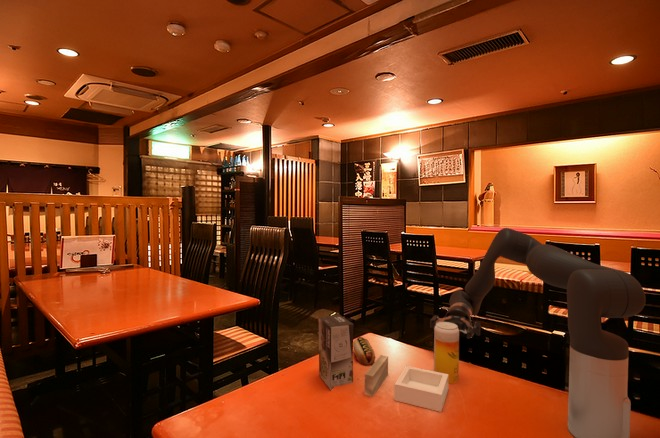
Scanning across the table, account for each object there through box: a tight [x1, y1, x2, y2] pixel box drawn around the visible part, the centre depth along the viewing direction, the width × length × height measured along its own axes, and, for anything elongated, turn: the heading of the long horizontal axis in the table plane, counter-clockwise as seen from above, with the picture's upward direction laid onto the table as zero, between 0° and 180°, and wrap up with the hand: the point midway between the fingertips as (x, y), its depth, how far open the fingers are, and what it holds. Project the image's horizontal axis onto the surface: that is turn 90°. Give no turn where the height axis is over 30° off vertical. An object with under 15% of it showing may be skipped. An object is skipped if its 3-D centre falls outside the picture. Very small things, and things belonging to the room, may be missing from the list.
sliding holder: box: [393, 365, 449, 413], centre depth 84 cm, size 10×10×4 cm
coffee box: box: [318, 314, 354, 391], centre depth 93 cm, size 9×6×16 cm
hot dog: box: [353, 336, 376, 366], centre depth 106 cm, size 5×13×5 cm, turn 6°
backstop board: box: [364, 355, 389, 398], centre depth 85 cm, size 20×12×6 cm, turn 64°
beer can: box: [433, 322, 460, 385], centre depth 92 cm, size 6×6×15 cm
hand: (452, 332), depth 102 cm, fingers open, 8 cm apart
